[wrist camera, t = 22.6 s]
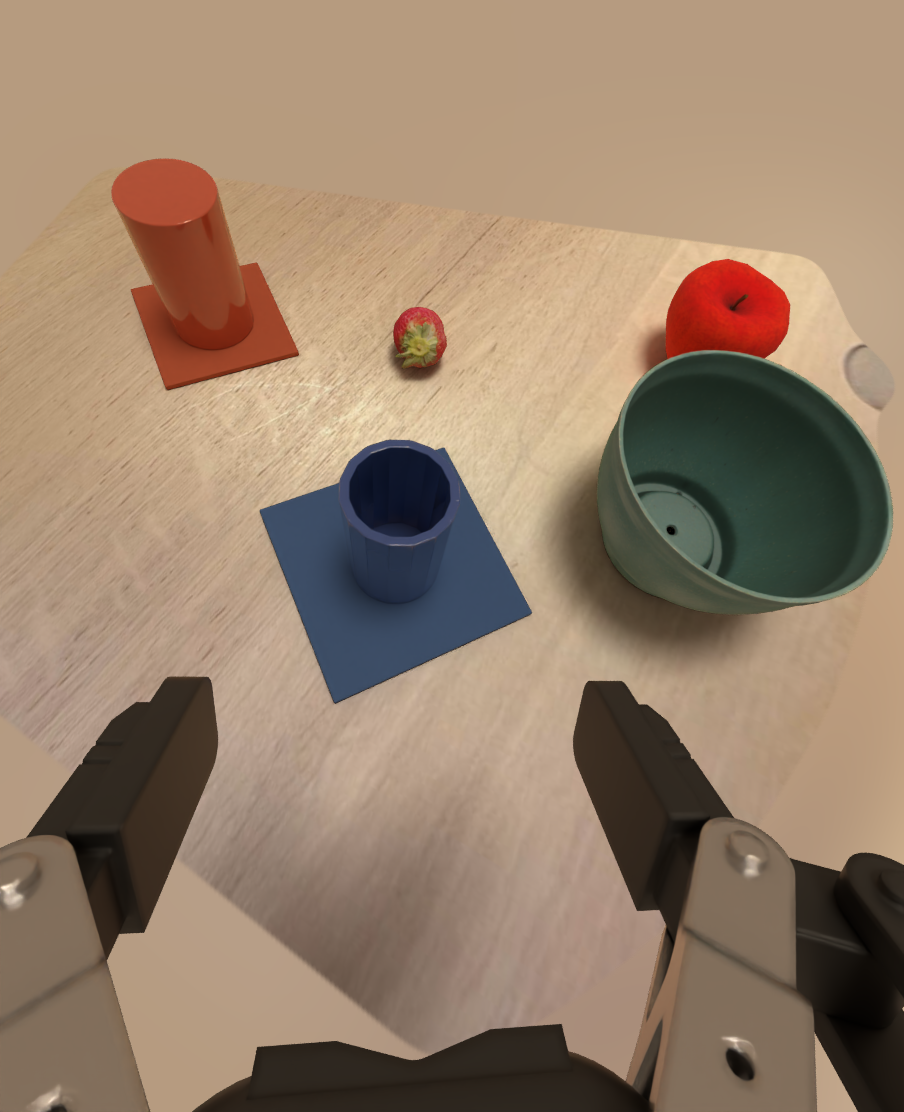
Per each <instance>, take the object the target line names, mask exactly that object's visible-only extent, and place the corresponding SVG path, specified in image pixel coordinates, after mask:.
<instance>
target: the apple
mask: <svg viewBox="0 0 904 1112" xmlns="http://www.w3.org/2000/svg"><path fill="white" fill-rule="evenodd" d="M789 315H790V303H789V301H788V299H787V297H786V295H785V292H784V291H783V290H782V289H781V288H779V287H778V286H777V285H776V284H775V283H774V282H773V281H772V280H770V279H769V278H767V277H766V276H764V275H763V274H761V273H760V272H758V271H757V270H755V269H754V268H752V267H751V266H749V265H748V264H745V263H741V262H737V261H733V260H730V259H725V260H718V261H712V262H710V263H708V264H705V265H703V266H701V267H699V268H697V269H695V270H694V271H693V272H691V273H690V274H688V276H687V277H686V278H685V279H684V280H683V281H682V283H681V285H680V286H679V288H678V290H677V291H676V293H675V295H674V297H673V299H672V301H671V304H670V307H669V309H668V314H667V319H666V353H667V358H668V359H669V358H672V357H675V356H678V355H681V354H685V353H689V352H694V351H702V350H719V351H730V352H740V353H745V354H748V355H753V356H757V357H761V358H763V359H764V358H766V357H767V356H769V355H770V354H771V353H773V352H774V351H775V350H776V349H777V348H778V346H779V345H780V344H781V342H782V341H783V339H784V338H785V336H786V334H787V331H788V326H789Z"/></svg>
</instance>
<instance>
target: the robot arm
mask: <svg viewBox="0 0 904 1112" xmlns="http://www.w3.org/2000/svg"><path fill="white" fill-rule="evenodd" d="M217 748H218V731H217V723H216V715H215V706H214V698H213V690H212V683H211V680H210V679H209V677H167V678H166V679H165V680H164V682H163V683H162V685H161V686H160V688H159V689H158V691H157V692H156V694H155V695H154V697H153V698H152V700H151V701H150V702H136V703H134V704H133V705H132V706H130V707H129V708H128V709H126V710H125V711H124V712H122V713H121V714H120V715H118V716H117V717H115V718H114V719H113V720H111V722H110V723H109V725H108V726H107V727H106V729H105V730H104V731H103V733H102V734H101V736H100V737H99V738H98V740H97V741H96V745H95V746H93V747H92V748H91V749H90V751H89V752H88V753H87V755H86V756H85V758H84V759H83V763H82V765H79V766H78V767H77V769H76V770H75V771H74V773H73V774H72V775H71V777H70V778H69V780H68V781H67V782H66V784H65V785H64V786H63V788H62V789H61V791H60V792H59V793H58V795H57V796H56V798H55V799H54V800H53V802H52V803H51V804H50V806H49V807H48V809H47V810H46V811H45V813H44V814H43V815H42V817H41V818H40V820H39V821H38V822H37V824H36V825H35V827H34V828H33V829H32V831H31V832H30V833H29V835H28V836H27V837H26V838H24V839H21V840H18V841H16V842H13V843H10V844H8V845H6V846H4V847H2V848H0V1112H150V1109H149V1106H148V1102H147V1099H146V1096H145V1092H144V1088H143V1085H142V1082H141V1079H140V1075H139V1071H138V1068H137V1064H136V1061H135V1058H134V1054H133V1051H132V1047H131V1043H130V1040H129V1036H128V1033H127V1030H126V1026H125V1023H124V1020H123V1016H122V1012H121V1009H120V1005H119V1002H118V998H117V995H116V991H115V988H114V985H113V981H112V978H111V974H110V971H109V967H108V964H107V959H108V957H109V954H110V953H111V950H112V948H113V946H114V944H115V942H116V939H117V937H118V935H119V934H125V933H126V934H127V933H144V932H145V929H146V927H147V925H148V922H149V920H150V918H151V915H152V913H153V910H154V908H155V906H156V903H157V901H158V898H159V896H160V894H161V891H162V889H163V886H164V884H165V881H166V879H167V877H168V874H169V872H170V870H171V867H172V865H173V862H174V860H175V858H176V855H177V853H178V850H179V848H180V846H181V843H182V841H183V838H184V836H185V834H186V831H187V829H188V827H189V824H190V822H191V819H192V817H193V815H194V812H195V810H196V807H197V805H198V803H199V800H200V798H201V795H202V793H203V791H204V788H205V786H206V783H207V781H208V779H209V776H210V774H211V771H212V769H213V766H214V763H215V759H216V755H217ZM573 750H574V756H575V761H576V764H577V767H578V769H579V771H580V774H581V776H582V779H583V781H584V783H585V786H586V788H587V791H588V793H589V796H590V798H591V800H592V803H593V805H594V808H595V810H596V813H597V815H598V817H599V820H600V822H601V825H602V827H603V829H604V832H605V834H606V837H607V839H608V842H609V844H610V846H611V849H612V851H613V854H614V856H615V859H616V861H617V863H618V866H619V868H620V871H621V873H622V875H623V878H624V880H625V883H626V885H627V888H628V890H629V892H630V895H631V897H632V900H633V902H634V905H635V907H636V909H637V911H646V910H660V912H661V914H662V916H663V919H664V921H665V923H666V925H665V928H664V930H663V933H662V937H661V941H660V945H659V950H658V954H657V958H656V963H655V967H654V972H653V976H652V981H651V985H650V989H649V994H648V998H647V1003H646V1007H645V1011H644V1016H643V1020H642V1025H641V1029H640V1033H639V1037H638V1041H637V1044H636V1048H635V1051H634V1054H633V1057H632V1061H631V1064H630V1067H629V1071H628V1074H627V1078H626V1081H624V1080H623V1079H622V1078H620V1077H619V1076H618V1075H616V1074H615V1073H614V1072H612V1071H610V1070H609V1069H607V1068H605V1067H604V1066H602V1065H600V1064H598V1063H597V1062H595V1061H593V1060H590V1059H588V1058H586V1057H584V1056H581V1055H579V1054H576V1053H573V1052H569V1051H568V1049H567V1045H566V1041H565V1037H564V1033H563V1028H562V1024H556V1025H543V1026H528V1027H515V1028H502V1029H490V1030H488V1031H486V1032H483V1033H481V1034H479V1035H476V1036H474V1037H472V1038H469V1039H467V1040H465V1041H463V1042H460V1043H458V1044H456V1045H453V1046H451V1047H449V1048H446V1049H444V1050H442V1051H439V1052H437V1053H435V1054H432V1055H430V1056H428V1057H425V1058H423V1059H419V1060H407V1059H403V1058H399V1057H395V1056H391V1055H388V1054H384V1053H380V1052H376V1051H372V1050H368V1049H365V1048H360V1047H357V1046H353V1045H349V1044H345V1043H342V1042H338V1041H331V1042H318V1043H304V1044H291V1045H278V1046H264V1047H257V1050H256V1056H255V1061H254V1066H253V1071H252V1076H250V1077H248V1078H245V1079H243V1080H241V1081H238V1082H236V1083H234V1084H233V1085H231V1086H229V1087H227V1088H226V1089H224V1090H222V1091H220V1092H219V1093H217V1094H215V1095H214V1096H213V1097H211V1098H210V1099H208V1100H207V1101H206V1102H204V1103H203V1104H201V1105H200V1106H199V1107H197V1108H196V1109H195V1110H194V1111H192V1112H817V1098H816V1097H817V1095H816V1067H815V1037H814V1032H815V1034H816V1036H817V1038H818V1039H819V1041H820V1043H821V1045H822V1047H823V1048H824V1050H825V1052H826V1054H827V1056H828V1058H829V1059H830V1061H831V1063H832V1065H833V1067H834V1069H835V1070H836V1072H837V1074H838V1076H839V1078H840V1080H841V1081H842V1083H843V1085H844V1087H845V1089H846V1091H847V1092H848V1094H849V1096H850V1098H851V1100H852V1101H853V1103H854V1105H855V1107H856V1109H857V1111H858V1112H904V1011H903V1010H902V1008H903V1007H904V865H902V864H900V863H898V862H896V861H894V860H892V859H890V858H887V857H884V856H881V855H877V854H873V853H858V854H854V855H852V856H851V857H850V858H849V859H848V861H847V863H846V864H845V866H844V868H843V870H842V871H841V872H840V871H836V870H832V869H829V868H824V867H821V866H817V865H813V864H809V863H806V862H801V861H798V860H794V859H791V858H789V857H788V855H787V854H786V853H785V851H784V850H783V849H782V847H781V846H780V845H779V844H778V843H777V842H776V841H775V840H774V839H773V838H771V837H770V836H769V835H768V834H766V833H765V832H763V831H762V830H760V829H759V828H757V827H755V826H753V825H751V824H749V823H747V822H744V821H742V820H738V819H735V818H734V817H733V816H732V814H731V813H730V811H729V810H728V808H727V807H726V805H725V804H724V803H723V801H722V800H721V798H720V797H719V795H718V794H717V792H716V791H715V790H714V788H713V787H712V785H711V784H710V782H709V781H708V779H707V778H706V776H705V775H704V774H703V772H702V771H701V769H700V768H699V766H698V765H697V763H696V762H695V761H694V759H691V755H690V753H689V752H688V750H687V749H686V747H685V746H684V745H683V743H680V739H679V737H678V736H677V734H676V733H675V732H674V730H673V729H672V727H671V726H670V724H669V723H668V721H667V720H666V719H664V718H663V717H662V716H661V715H659V714H658V713H657V712H656V711H654V710H653V709H652V708H651V707H649V706H648V705H639V704H638V703H637V701H636V700H635V698H634V696H633V695H632V693H631V692H630V690H629V689H628V687H627V686H626V684H625V683H624V682H622V681H588V682H587V683H586V685H585V687H584V691H583V695H582V699H581V704H580V708H579V713H578V717H577V722H576V726H575V731H574V736H573Z"/></svg>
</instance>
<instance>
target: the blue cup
mask: <svg viewBox="0 0 904 1112" xmlns="http://www.w3.org/2000/svg"><path fill="white" fill-rule="evenodd" d="M339 503H340V510H341V516H342V522H343V528H344V534H345V540H346V546H347V552H348V558H349V564H350V568H351V571H352V575H353V577H354V579H355V581H356V583H357V585H358V586H359V587H360V589H361V590H362V591H363V592H364V593H366V594H367V595H368V596H370V597H371V598H373V599H375V600H377V601H380V602H383V603H388V604H403V603H408V602H411V601H414V600H416V599H418V598H420V597H421V596H423V595H424V594H425V593H426V592H427V591H428V590H429V589H430V588H431V587H432V586H433V584H434V583H435V581H436V578H437V576H438V573H439V570H440V568H441V565H442V561H443V558H444V555H445V551H446V548H447V545H448V542H449V538H450V535H451V532H452V528H453V525H454V522H455V518H456V515H457V512H458V508H459V505H460V489H459V482H458V479H457V477H456V475H455V473H454V471H453V469H452V467H451V465H450V464H449V462H448V461H447V460H445V459H444V458H443V457H442V456H441V455H440V454H438V453H437V452H436V451H435V450H434V449H432V448H430V447H428V446H425V445H422V444H420V443H417V442H414V441H410V440H385V441H382V442H379V443H376V444H373V445H370V446H367V447H365V448H364V449H363V450H362V451H360V452H359V453H358V454H357V455H356V456H354V457H353V458H352V459H351V460H350V461H349V462H348V464H347V466H346V468H345V470H344V472H343V474H342V476H341V478H340V481H339Z"/></svg>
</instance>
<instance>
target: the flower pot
mask: <svg viewBox="0 0 904 1112" xmlns="http://www.w3.org/2000/svg"><path fill="white" fill-rule="evenodd" d="M676 493H678V494H676ZM597 507H598V514H599V520H600V524H601V528H602V537H603V542H604V546H605V548H606V551H607V553H608V555H609V557H610V559H611V561H612V563H613V564H614V566H615V567H616V568H617V570H618V571H619V572H620V573H621V575H623V576H624V577H625V578H626V579H627V580H628V581H629V582H630V583H632V584H633V585H634V586H636V587H637V588H639V589H641V590H642V591H644V592H646V593H648V594H651V595H653V596H657V597H660V598H663V599H665V600H667V601H669V602H672V603H674V604H677V605H680V606H683V607H686V608H689V609H693V610H697V611H702V612H708V613H716V614H730V615H742V614H757V613H765V612H772V611H777V610H781V609H785V608H789V607H793V606H801V605H808V604H814V603H819V602H822V601H826V600H830V599H833V598H836V597H839V596H842V595H844V594H846V593H848V592H850V591H852V590H854V589H856V588H857V587H859V586H860V585H861V584H863V583H864V582H865V581H866V580H868V579H869V578H870V577H871V576H872V575H873V573H874V572H875V571H876V570H877V568H878V567H879V565H880V564H881V562H882V560H883V558H884V556H885V554H886V552H887V550H888V547H889V543H890V539H891V536H892V528H893V505H892V497H891V492H890V487H889V483H888V479H887V476H886V473H885V471H884V468H883V466H882V463H881V461H880V459H879V457H878V455H877V453H876V451H875V449H874V448H873V446H872V445H871V443H870V441H869V439H868V438H867V437H866V435H865V434H864V433H863V431H862V430H861V428H860V427H859V425H858V424H857V423H856V422H855V421H854V420H853V418H852V417H851V416H850V415H849V414H848V413H847V412H846V411H845V410H844V409H843V408H842V407H841V406H840V405H839V404H838V403H837V402H836V401H835V400H833V399H832V397H831V396H829V395H828V394H826V393H825V392H824V391H823V390H822V389H820V388H818V387H817V386H815V385H814V384H813V383H811V382H809V381H808V380H807V379H805V378H803V377H802V376H800V375H799V374H797V373H795V372H794V371H792V370H790V369H787V368H785V367H783V366H781V365H779V364H777V363H774V362H772V361H769V360H767V359H763V358H761V357H757V356H753V355H748V354H745V353H740V352H730V351H719V350H702V351H694V352H689V353H685V354H681V355H678V356H675V357H672V358H669V359H667V360H665V361H663V362H661V363H659V364H658V365H656V366H655V367H653V368H652V369H650V370H649V371H648V372H647V373H646V374H645V375H644V376H643V377H642V378H641V379H640V380H639V381H638V382H637V383H636V385H635V386H634V388H633V389H632V390H631V392H630V394H629V395H628V397H627V399H626V401H625V403H624V405H623V407H622V409H621V412H620V414H619V418H618V421H617V423H616V424H615V426H614V428H613V430H612V432H611V434H610V437H609V439H608V441H607V444H606V446H605V449H604V452H603V456H602V459H601V464H600V468H599V474H598V483H597ZM669 526H671V527H673V528H674V529H675V534H674V535H670V534H668V532H667V529H666V528H667V527H669Z"/></svg>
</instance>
